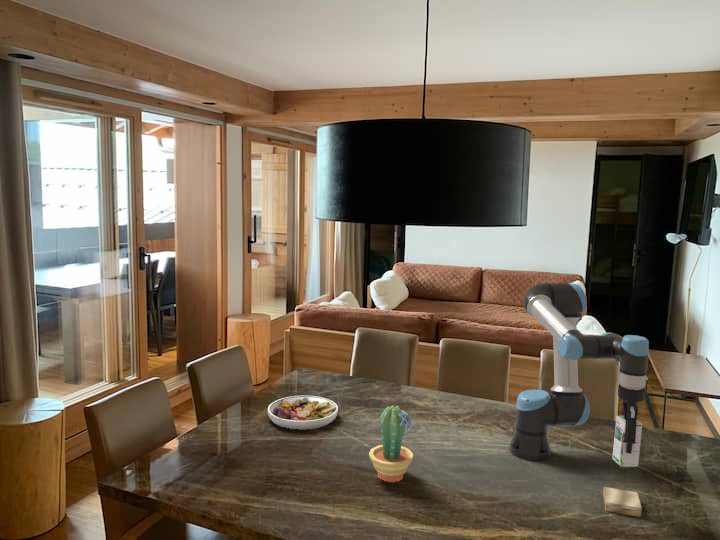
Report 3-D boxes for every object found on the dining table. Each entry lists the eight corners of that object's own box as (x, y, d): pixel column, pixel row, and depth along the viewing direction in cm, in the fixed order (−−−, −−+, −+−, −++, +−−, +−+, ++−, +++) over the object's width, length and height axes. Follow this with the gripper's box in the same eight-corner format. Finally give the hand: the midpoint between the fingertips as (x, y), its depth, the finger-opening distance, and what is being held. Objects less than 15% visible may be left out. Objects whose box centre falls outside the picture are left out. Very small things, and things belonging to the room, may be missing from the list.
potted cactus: (384, 491, 188) (386, 418, 185) (359, 471, 201) (361, 403, 198) (421, 479, 196) (424, 409, 193) (395, 461, 209) (397, 395, 206)
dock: (605, 511, 179) (606, 502, 179) (602, 495, 189) (603, 486, 188) (640, 517, 176) (641, 508, 176) (636, 501, 186) (637, 492, 185)
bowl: (300, 401, 269) (300, 384, 268) (351, 416, 251) (352, 399, 250) (253, 420, 245) (252, 403, 244) (306, 439, 227) (306, 420, 226)
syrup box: (611, 458, 183) (615, 415, 181) (629, 458, 184) (633, 415, 182) (620, 467, 177) (624, 422, 175) (639, 467, 178) (643, 422, 176)
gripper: (650, 398, 167) (643, 473, 170) (640, 377, 186) (634, 445, 189) (622, 395, 169) (616, 468, 172) (615, 375, 188) (609, 441, 191)
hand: (625, 456), depth 180 cm, fingers closed on syrup box, 7 cm apart
